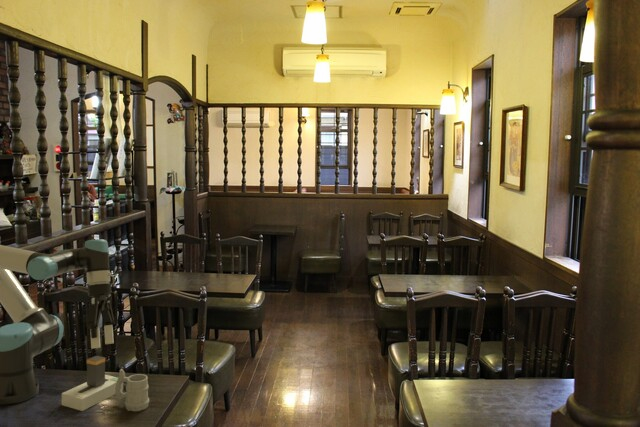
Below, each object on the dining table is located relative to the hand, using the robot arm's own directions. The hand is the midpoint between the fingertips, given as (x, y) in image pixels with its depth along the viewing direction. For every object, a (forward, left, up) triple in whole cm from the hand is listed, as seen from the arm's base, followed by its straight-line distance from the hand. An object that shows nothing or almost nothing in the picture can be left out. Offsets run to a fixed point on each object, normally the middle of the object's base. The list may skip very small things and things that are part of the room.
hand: (102, 345), depth 179 cm
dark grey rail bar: (0, +8, -17) cm, 19 cm away
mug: (+15, -2, -17) cm, 23 cm away
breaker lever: (-1, -2, -13) cm, 13 cm away
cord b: (+1, +10, -17) cm, 20 cm away
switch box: (-1, -3, -17) cm, 18 cm away
